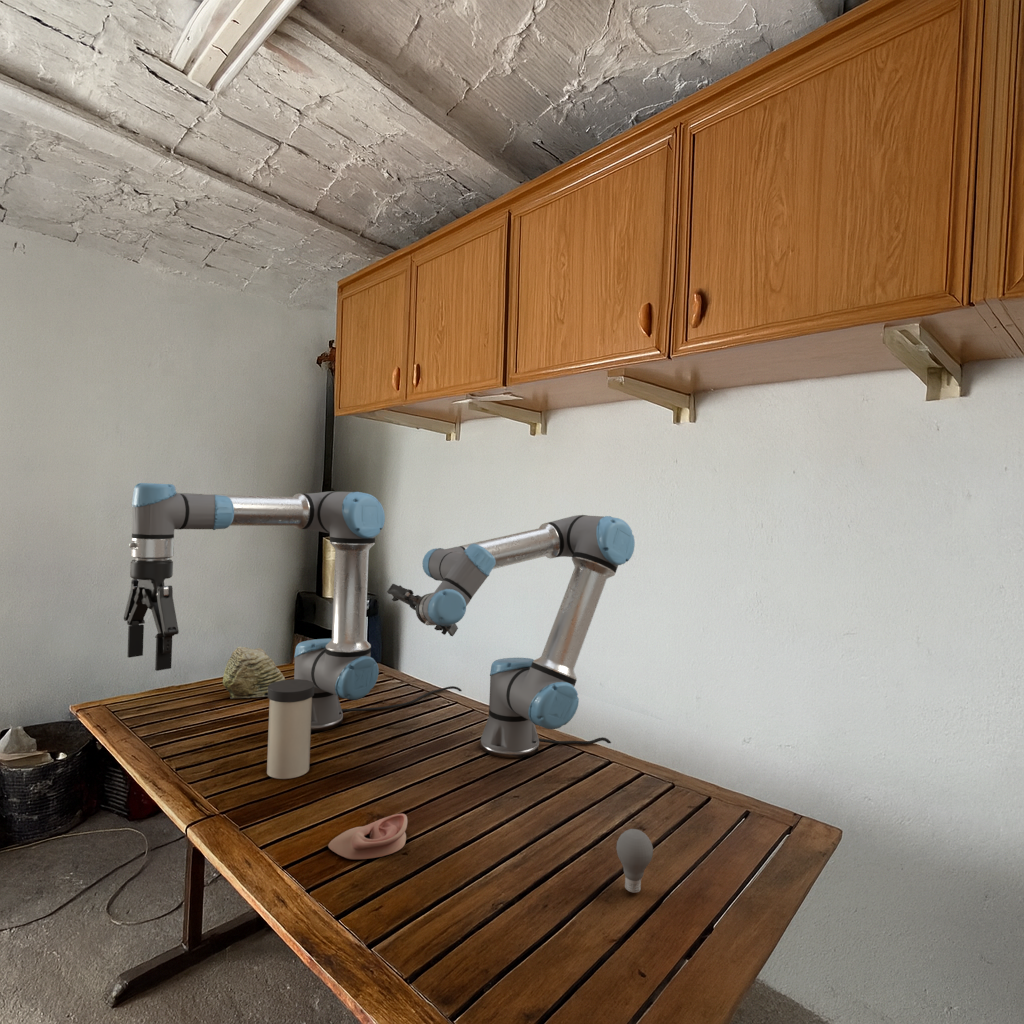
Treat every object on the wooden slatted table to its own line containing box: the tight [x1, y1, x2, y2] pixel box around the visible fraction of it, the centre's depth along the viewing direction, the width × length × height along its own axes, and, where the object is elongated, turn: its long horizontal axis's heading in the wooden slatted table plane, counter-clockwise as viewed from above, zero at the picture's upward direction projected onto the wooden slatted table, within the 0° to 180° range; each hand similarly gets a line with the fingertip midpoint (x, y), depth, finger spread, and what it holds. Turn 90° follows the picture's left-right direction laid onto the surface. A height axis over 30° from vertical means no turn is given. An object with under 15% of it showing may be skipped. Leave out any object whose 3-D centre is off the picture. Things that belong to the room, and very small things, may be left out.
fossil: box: [222, 646, 286, 699], centre depth 198 cm, size 9×18×15 cm, turn 132°
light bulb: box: [615, 828, 654, 894], centre depth 106 cm, size 6×6×10 cm
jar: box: [266, 697, 312, 780], centre depth 146 cm, size 9×9×19 cm
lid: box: [267, 678, 314, 702], centre depth 146 cm, size 10×10×2 cm
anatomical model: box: [327, 813, 408, 861], centre depth 116 cm, size 13×4×12 cm
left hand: (148, 662), depth 129 cm, fingers open, 13 cm apart
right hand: (417, 610), depth 167 cm, fingers open, 13 cm apart
